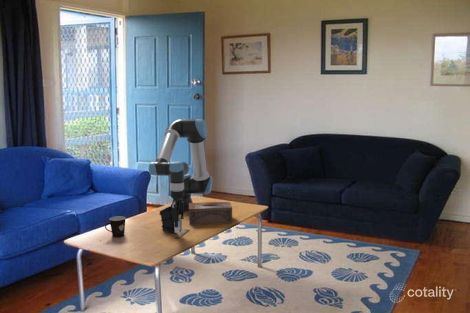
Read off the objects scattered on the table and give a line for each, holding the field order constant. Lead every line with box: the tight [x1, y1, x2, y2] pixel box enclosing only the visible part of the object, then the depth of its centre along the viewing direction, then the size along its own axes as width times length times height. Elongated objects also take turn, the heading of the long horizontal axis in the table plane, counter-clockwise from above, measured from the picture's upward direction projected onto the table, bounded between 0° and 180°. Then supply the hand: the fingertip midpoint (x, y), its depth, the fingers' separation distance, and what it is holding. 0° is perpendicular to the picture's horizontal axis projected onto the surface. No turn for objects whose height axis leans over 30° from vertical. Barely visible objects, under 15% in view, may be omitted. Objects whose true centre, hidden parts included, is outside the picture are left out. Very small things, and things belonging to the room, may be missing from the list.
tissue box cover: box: [188, 201, 233, 226], centre depth 294 cm, size 26×14×10 cm, turn 95°
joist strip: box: [174, 228, 190, 240], centre depth 268 cm, size 16×2×1 cm, turn 164°
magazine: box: [159, 205, 176, 235], centre depth 273 cm, size 4×13×15 cm, turn 40°
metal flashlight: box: [179, 214, 182, 234], centre depth 262 cm, size 3×3×10 cm
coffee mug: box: [104, 215, 126, 238], centre depth 266 cm, size 12×9×10 cm
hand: (178, 231), depth 263 cm, fingers closed on metal flashlight, 3 cm apart
